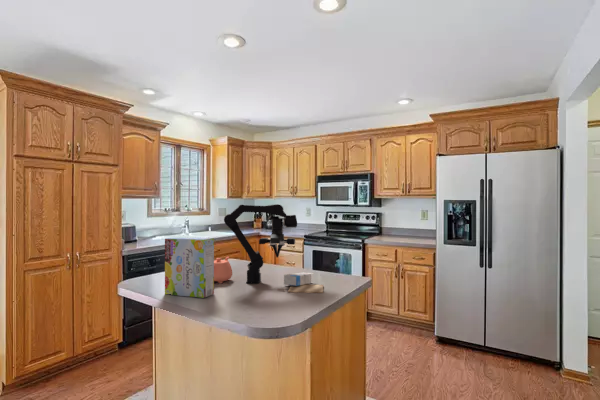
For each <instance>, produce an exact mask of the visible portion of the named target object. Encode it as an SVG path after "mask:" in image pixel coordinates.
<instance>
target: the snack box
mask: <svg viewBox="0 0 600 400" xmlns="http://www.w3.org/2000/svg"><path fill="white" fill-rule="evenodd" d="M214 260H215V239H214V237H196V236H195V237H189V236H187V237H186V236H185V237H181V236H180V237H179V236H178V237H177V236H176V237H175V236H174V237H166V238H164V295H166V294H171V295H170V296H181V297H190V298H191V297H192V298H200V299H201V298H202V299H204V298H206V297H207V298H208V297H210V296H212V295H214V293H215V281H214Z"/></svg>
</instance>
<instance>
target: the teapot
mask: <svg viewBox="0 0 600 400" xmlns="http://www.w3.org/2000/svg"><path fill="white" fill-rule="evenodd" d="M229 258H230V256H226V257H225V259H222V257H217V258H215V259H214V282H218V283H217V284H223V283H224V282H228V281H229V280H230V279H231V278H232V277H233V269H232V265H231V263H230V261H229Z"/></svg>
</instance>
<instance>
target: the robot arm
mask: <svg viewBox="0 0 600 400" xmlns="http://www.w3.org/2000/svg"><path fill="white" fill-rule="evenodd" d="M243 213H258V214H259V213H260V214H261V213H263V214H270V216H269V217H267V220H271V235H270V237H269V238H270V239H269V238H268V237H261V238H259V240H258V244H259V245H266V244H267V243H268V244H269V246H271V247H272V249H273V252H274V255H275V258H279V256H280V252H281V250H282V247H284V246H285V244H287V245H295V244H296V238H295V237H288V238H287V239H286V238H285V233H283V232H284V231H283V230H284V229H283V227H285V228H286V229H287V228H288V229H289V228H290V229H291V228H293V229H296V228H297V227H298V221H297V215H296V214H291V215H290V214H289V215H287V213H286V212H285V211H284V206H282V205H281V204H269V205H253V204H252V205H247V204H239V205H238V207H236V209H234V210H233V211H232V212H230V213H228V214H225V216H224V217H223V222H224V224H225V225H226V226H227V227H228V228H229V229H230V230H231V231H232V232H233V233H234V235H235V236H236V239H237V240H238V241H239V243H240V244H241V246H242V247H243V249H244V250H245V252H246V253H247V255H248V258H249V260H250V262H249V263H248V264H247V265H246V267H247V270H246V282H245V283H246V284H250V285H251V284H253V285H254V284H256V285H258V284H260V282H262V273H261V270H260V269H261V268H262V267H263V265H264V258H263V256H262V255H261V253H260V252H259V250H257V251H255V250H254V249H253V247H252V245H251V244H250V242H249V240H248V239H247V238H246V236H245V235H244V233H243V232H242V229H240V226H239V224H238V221H237V220H238V218H239V217H240V216H241V215H242V214H243ZM279 216H280V217H279Z"/></svg>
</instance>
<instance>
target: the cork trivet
mask: <svg viewBox="0 0 600 400" xmlns="http://www.w3.org/2000/svg"><path fill="white" fill-rule="evenodd" d="M289 286H290V287H289V289H288V291H287V292H288V293H297V294H298V293H301V294H304V293H305V294H311V293H312V294H324V284H311V283H309V284H304V285H299V286H292V285H289Z"/></svg>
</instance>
